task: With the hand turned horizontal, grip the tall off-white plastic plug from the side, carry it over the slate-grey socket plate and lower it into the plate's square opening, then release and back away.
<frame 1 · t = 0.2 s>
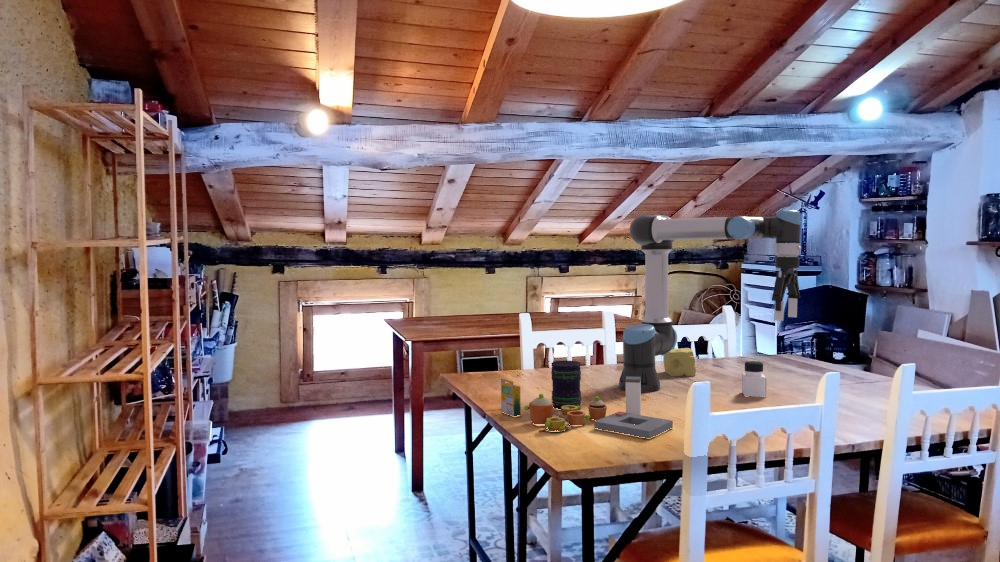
hand: (785, 318, 233), 28 cm above the table, tool pointing down, fingers open, 13 cm apart
toy tea set: (567, 424, 211), on the table
plug: (633, 415, 218), on the table
medicine bottle: (753, 395, 242), on the table
cheese: (679, 374, 281), on the table
storage jar: (566, 408, 229), on the table
socket: (633, 429, 202), on the table
crayon box: (511, 415, 221), on the table
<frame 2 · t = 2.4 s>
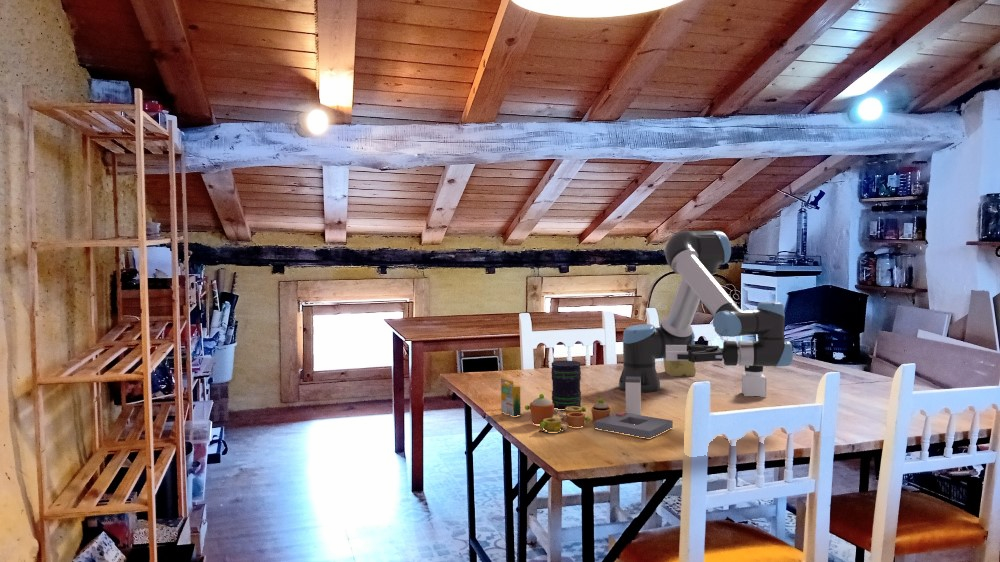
hand: (665, 352, 214), 20 cm above the table, tool horizontal, fingers open, 13 cm apart
toy tea set: (569, 425, 210), on the table
everything else where it was.
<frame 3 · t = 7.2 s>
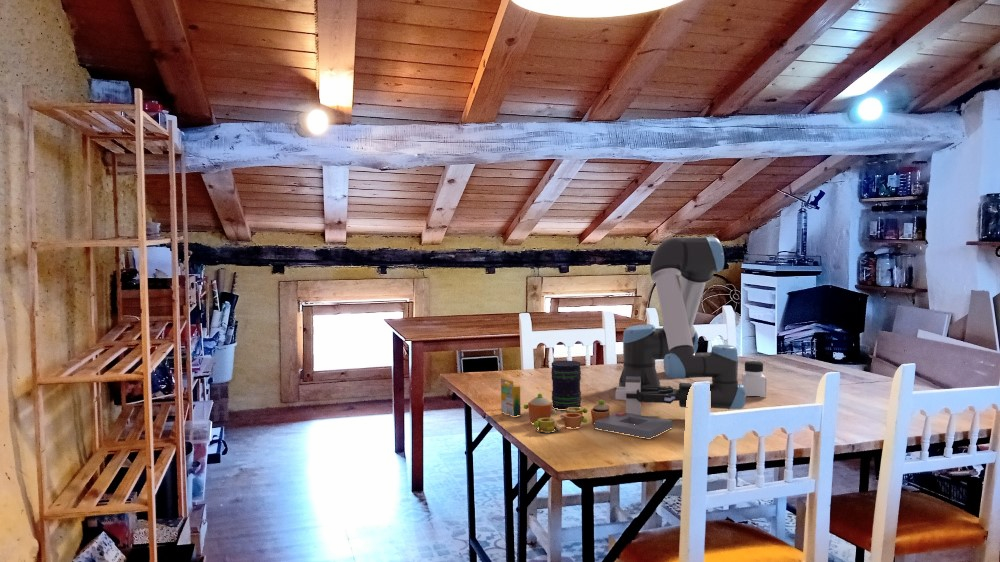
hand: (616, 392, 218), 7 cm above the table, tool horizontal, fingers closed on plug, 4 cm apart
plug: (633, 415, 218), on the table, touching gripper
when the fingers open (8 cm above the table, at t = 12.2 s): plug stays where it is, resting in socket.
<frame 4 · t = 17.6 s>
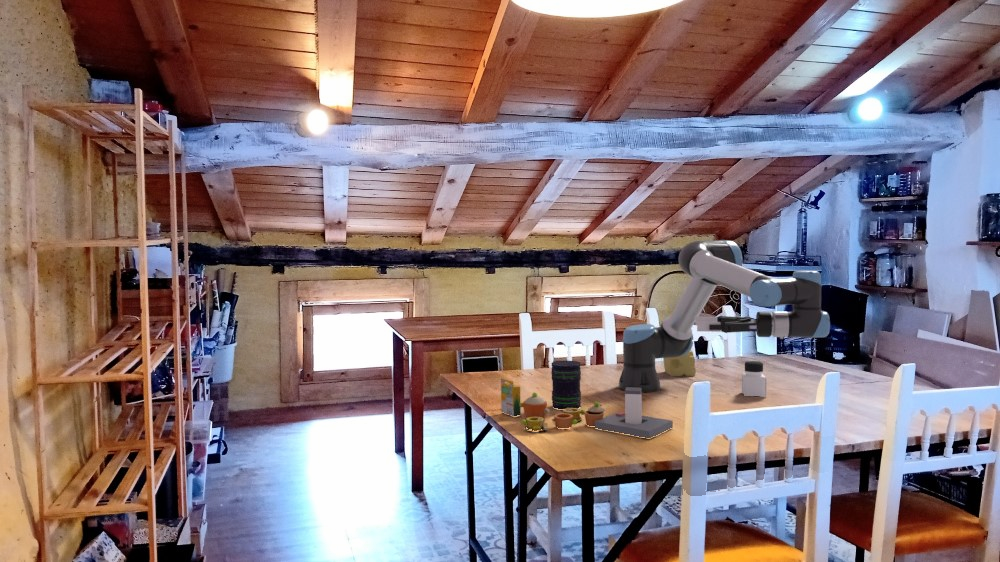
hand: (696, 323, 207), 30 cm above the table, tool horizontal, fingers open, 13 cm apart
toy tea set: (561, 426, 209), on the table
plug: (633, 429, 202), resting in socket
everything else where it was.
at the end: plug 0.0 cm off-centre on the socket, point 0.0 cm above the socket's base; plug tilted 0°; the gripper is holding nothing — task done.
